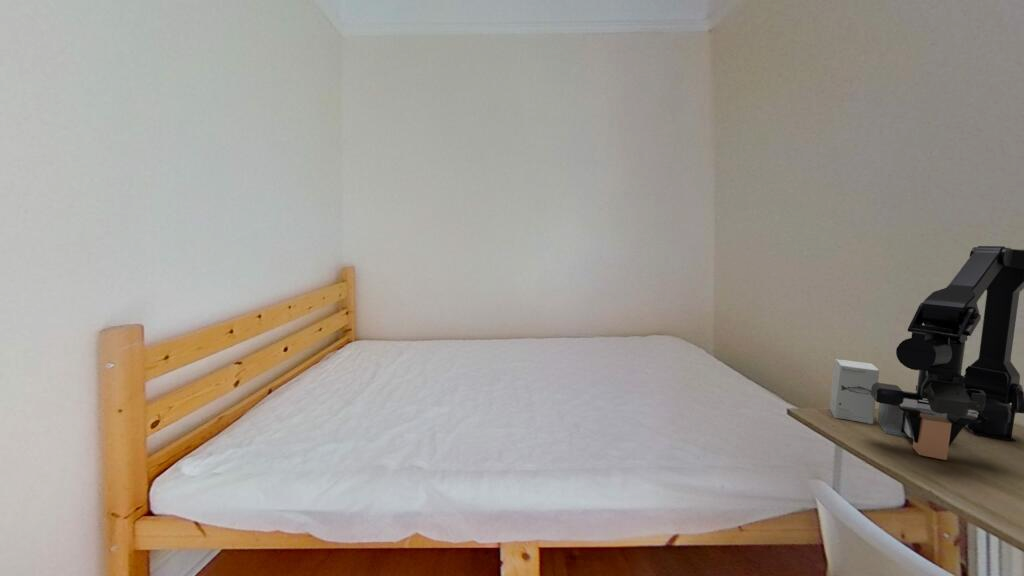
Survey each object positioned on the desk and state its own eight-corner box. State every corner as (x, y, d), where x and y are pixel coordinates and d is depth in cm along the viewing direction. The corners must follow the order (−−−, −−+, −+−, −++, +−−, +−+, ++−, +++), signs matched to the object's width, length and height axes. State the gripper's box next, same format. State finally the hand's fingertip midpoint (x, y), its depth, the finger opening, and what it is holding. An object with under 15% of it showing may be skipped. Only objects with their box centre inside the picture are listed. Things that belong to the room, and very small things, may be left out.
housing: (934, 430, 99) (938, 401, 99) (948, 444, 92) (952, 413, 92) (877, 420, 104) (880, 392, 103) (885, 433, 97) (889, 403, 96)
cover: (925, 436, 95) (929, 403, 95) (946, 460, 84) (951, 423, 84) (901, 431, 97) (905, 400, 97) (918, 454, 86) (923, 419, 86)
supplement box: (833, 418, 105) (839, 364, 103) (828, 408, 111) (834, 357, 110) (873, 425, 101) (880, 369, 100) (866, 414, 108) (872, 362, 107)
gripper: (888, 366, 83) (878, 448, 84) (1033, 384, 74) (1019, 476, 76) (874, 354, 93) (866, 428, 94) (1002, 369, 84) (990, 450, 85)
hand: (930, 444), depth 87 cm, fingers closed on cover, 4 cm apart
